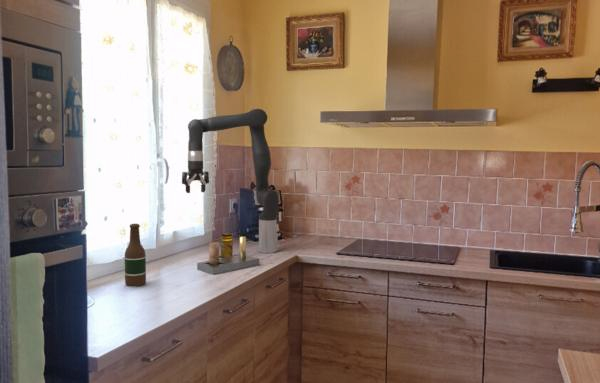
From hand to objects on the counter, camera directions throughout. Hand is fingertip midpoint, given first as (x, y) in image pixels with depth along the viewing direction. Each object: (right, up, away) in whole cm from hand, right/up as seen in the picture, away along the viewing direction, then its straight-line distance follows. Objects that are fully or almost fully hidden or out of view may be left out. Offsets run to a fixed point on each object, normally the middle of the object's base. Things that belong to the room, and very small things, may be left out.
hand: (195, 192), depth 236 cm
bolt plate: (+20, -34, -20) cm, 44 cm away
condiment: (+14, -33, +1) cm, 36 cm away
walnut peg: (+14, -35, -25) cm, 45 cm away
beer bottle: (-13, -36, -50) cm, 63 cm away
